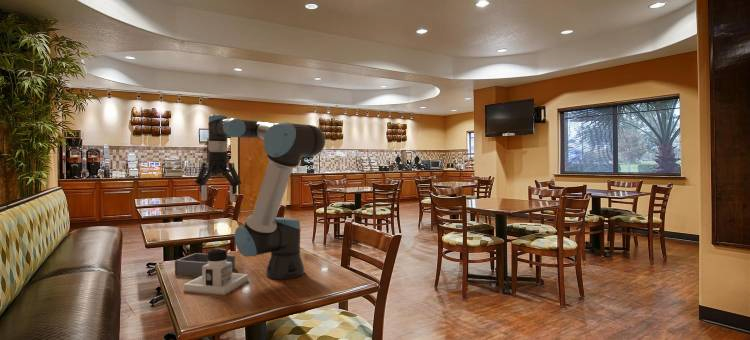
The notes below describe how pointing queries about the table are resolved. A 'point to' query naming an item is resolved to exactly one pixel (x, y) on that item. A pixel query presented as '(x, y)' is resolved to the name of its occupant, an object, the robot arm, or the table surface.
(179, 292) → the table surface
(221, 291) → the tray
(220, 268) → the container
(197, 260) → the bay
